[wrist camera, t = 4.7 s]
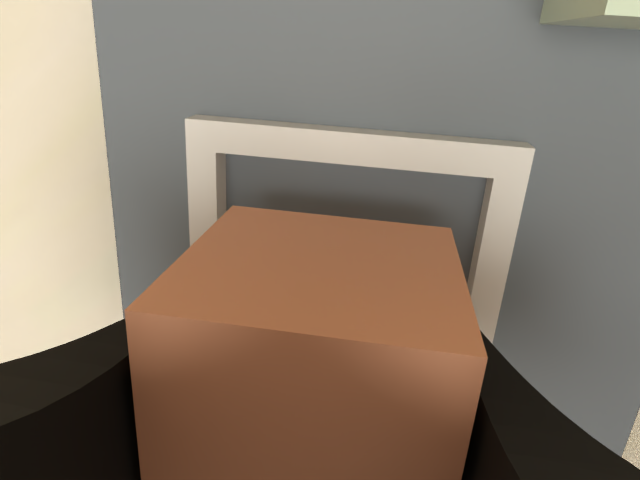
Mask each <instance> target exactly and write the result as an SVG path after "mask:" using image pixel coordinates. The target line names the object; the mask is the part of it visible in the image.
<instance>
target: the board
mask: <svg viewBox="0 0 640 480" xmlns="http://www.w3.org/2000/svg"><path fill="white" fill-rule="evenodd" d="M543 2H544V0H92V8H93V18H94V28H95V37H96V47H97V57H98V67H99V77H100V87H101V97H102V107H103V117H104V127H105V137H106V147H107V157H108V167H109V177H110V187H111V197H112V207H113V217H114V227H115V237H116V247H117V257H118V267H119V277H120V287H121V297H122V307H123V317H124V319H125V311H124V310H125V309H126V308H127V307H128V306H129V305H130V304H131V303H132V302H133V301H135V300H136V299H137V298H138V297H139V296H140V295H141V294H142V293H143V292H144V291H145V290H146V289H147V288H148V287H149V286H150V285H151V284H152V283H153V282H154V281H155V280H156V279H157V278H158V277H159V276H160V275H161V274H162V273H163V272H164V271H165V270H167V269H168V268H169V267H170V266H171V265H172V264H173V263H174V262H175V261H176V260H177V259H178V258H179V257H180V256H181V255H182V254H183V253H184V252H185V251H186V250H187V249H188V248H189V247H190V246H191V245H192V244H193V243H194V242H195V241H196V240H198V239H199V238H200V237H201V236H202V235H203V234H204V233H205V232H206V231H207V230H208V229H209V228H210V227H211V226H212V225H213V224H214V223H215V222H216V221H217V220H218V219H219V218H220V217H221V216H222V215H223V214H224V213H225V212H226V211H227V210H229V209H230V208H231V207H232V206H233V205H234V206H243V207H253V208H263V209H272V210H282V211H292V212H301V213H311V214H321V215H330V216H340V217H350V218H359V219H369V220H379V221H388V222H398V223H408V224H417V225H427V226H437V227H446V228H451V230H452V233H453V237H454V240H455V244H456V247H457V251H458V254H459V258H460V261H461V265H462V269H463V272H464V276H465V279H466V283H467V286H468V290H469V293H470V297H471V300H472V304H473V307H474V311H475V314H476V318H477V321H478V325H479V329H480V330H481V331H482V333H483V334H484V335H485V336H486V337H487V338H488V339H489V341H490V342H491V343H492V344H493V345H494V346H495V347H496V349H497V350H498V351H499V352H500V353H501V354H502V355H503V356H504V357H505V358H506V360H507V361H508V362H509V363H510V364H511V365H512V366H513V367H514V368H515V369H516V370H517V371H518V372H519V373H520V374H521V375H522V376H523V377H524V378H525V379H526V380H527V381H528V382H529V383H530V384H531V385H532V386H533V387H534V388H535V389H536V390H537V391H538V392H539V393H540V394H542V395H543V396H544V397H545V398H546V399H547V400H548V401H549V402H550V403H551V404H552V405H554V406H555V407H556V408H557V409H558V410H559V411H561V412H562V413H563V414H564V415H565V416H567V417H568V418H569V419H570V420H572V421H573V422H574V423H575V424H577V425H578V426H579V427H581V428H582V429H583V430H584V431H586V432H587V433H588V434H589V435H591V436H592V437H593V438H595V439H596V440H597V441H599V442H600V443H602V444H603V445H604V446H606V447H607V448H608V449H610V450H611V451H613V452H614V453H616V454H617V455H619V456H620V457H621V456H622V454H623V451H624V448H625V446H626V443H627V440H628V438H629V435H630V432H631V429H632V427H633V424H634V421H635V419H636V416H637V413H638V411H639V408H640V30H637V29H620V28H603V27H585V26H568V25H551V24H539V22H540V17H541V12H542V7H543Z"/></svg>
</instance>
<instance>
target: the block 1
mask: <svg viewBox="0 0 640 480" xmlns="http://www.w3.org/2000/svg"><path fill="white" fill-rule="evenodd" d="M124 311H125V321H126V331H127V341H128V352H129V362H130V372H131V382H132V392H133V403H134V413H135V423H136V433H137V443H138V454H139V464H140V474H141V480H461V479H462V474H463V470H464V465H465V461H466V456H467V451H468V447H469V442H470V438H471V433H472V428H473V424H474V419H475V415H476V410H477V405H478V401H479V396H480V392H481V387H482V383H483V378H484V373H485V369H486V364H487V360H488V357H487V353H486V350H485V346H484V343H483V339H482V336H481V332H480V329H479V325H478V321H477V318H476V314H475V311H474V307H473V304H472V300H471V297H470V293H469V290H468V286H467V283H466V279H465V276H464V272H463V269H462V265H461V261H460V258H459V254H458V251H457V247H456V244H455V240H454V237H453V233H452V230H451V228H446V227H437V226H427V225H417V224H408V223H398V222H388V221H379V220H369V219H359V218H350V217H340V216H330V215H321V214H311V213H301V212H292V211H282V210H272V209H263V208H253V207H243V206H234V205H233V206H232V207H231V208H230V209H229V210H227V211H226V212H225V213H224V214H223V215H222V216H221V217H220V218H219V219H218V220H217V221H216V222H215V223H214V224H213V225H212V226H211V227H210V228H209V229H208V230H207V231H206V232H205V233H204V234H203V235H202V236H201V237H200V238H199V239H198V240H196V241H195V242H194V243H193V244H192V245H191V246H190V247H189V248H188V249H187V250H186V251H185V252H184V253H183V254H182V255H181V256H180V257H179V258H178V259H177V260H176V261H175V262H174V263H173V264H172V265H171V266H170V267H169V268H168V269H167V270H165V271H164V272H163V273H162V274H161V275H160V276H159V277H158V278H157V279H156V280H155V281H154V282H153V283H152V284H151V285H150V286H149V287H148V288H147V289H146V290H145V291H144V292H143V293H142V294H141V295H140V296H139V297H138V298H137V299H136V300H135V301H133V302H132V303H131V304H130V305H129V306H128V307H127V308H126V309H125V310H124Z"/></svg>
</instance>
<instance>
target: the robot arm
mask: <svg viewBox="0 0 640 480" xmlns="http://www.w3.org/2000/svg"><path fill="white" fill-rule="evenodd" d="M480 332H481V336H482V339H483V343H484V346H485V350H486V353H487V357H488V360H487V364H486V369H485V373H484V378H483V383H482V387H481V392H480V396H479V401H478V405H477V410H476V415H475V419H474V424H473V428H472V433H471V438H470V442H469V447H468V451H467V456H466V461H465V465H464V470H463V474H462V479H461V480H640V469H638V468H637V467H635V466H634V465H632V464H631V463H629V462H628V461H626V460H625V459H623V458H622V457H620V456H619V455H617V454H616V453H614V452H613V451H611V450H610V449H608V448H607V447H606V446H604V445H603V444H602V443H600V442H599V441H597V440H596V439H595V438H593V437H592V436H591V435H589V434H588V433H587V432H586V431H584V430H583V429H582V428H581V427H579V426H578V425H577V424H575V423H574V422H573V421H572V420H570V419H569V418H568V417H567V416H565V415H564V414H563V413H562V412H561V411H559V410H558V409H557V408H556V407H555V406H554V405H552V404H551V403H550V402H549V401H548V400H547V399H546V398H545V397H544V396H543V395H542V394H540V393H539V392H538V391H537V390H536V389H535V388H534V387H533V386H532V385H531V384H530V383H529V382H528V381H527V380H526V379H525V378H524V377H523V376H522V375H521V374H520V373H519V372H518V371H517V370H516V369H515V368H514V367H513V366H512V365H511V364H510V363H509V362H508V361H507V360H506V358H505V357H504V356H503V355H502V354H501V353H500V352H499V351H498V350H497V349H496V347H495V346H494V345H493V344H492V343H491V342H490V341H489V339H488V338H487V337H486V336H485V335H484V334H483V333H482V331H481V330H480ZM0 480H141V474H140V464H139V454H138V443H137V433H136V423H135V413H134V403H133V392H132V382H131V372H130V362H129V352H128V341H127V331H126V321H125V319H123V320H121V321H118V322H116V323H114V324H112V325H109V326H107V327H105V328H103V329H100V330H98V331H96V332H93V333H91V334H89V335H86V336H84V337H81V338H79V339H76V340H74V341H71V342H68V343H66V344H63V345H60V346H57V347H54V348H51V349H48V350H45V351H42V352H39V353H36V354H33V355H30V356H26V357H23V358H19V359H15V360H12V361H8V362H5V363H1V364H0Z"/></svg>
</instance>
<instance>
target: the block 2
mask: <svg viewBox="0 0 640 480" xmlns="http://www.w3.org/2000/svg"><path fill="white" fill-rule="evenodd" d="M539 24H551V25H568V26H585V27H603V28H620V29H637V30H640V0H544V2H543V7H542V12H541V17H540V22H539Z"/></svg>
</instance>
